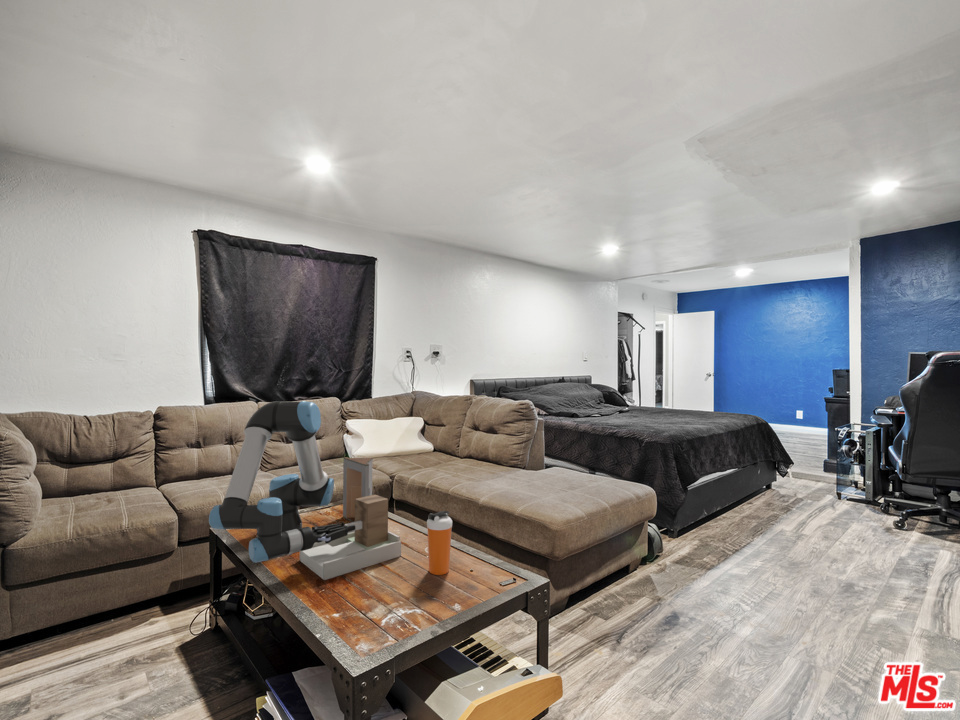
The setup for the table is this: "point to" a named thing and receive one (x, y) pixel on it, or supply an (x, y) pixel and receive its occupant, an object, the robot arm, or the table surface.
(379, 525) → the walnut block
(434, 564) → the shaker bottle
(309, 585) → the table surface
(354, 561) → the box
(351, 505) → the cabinet
